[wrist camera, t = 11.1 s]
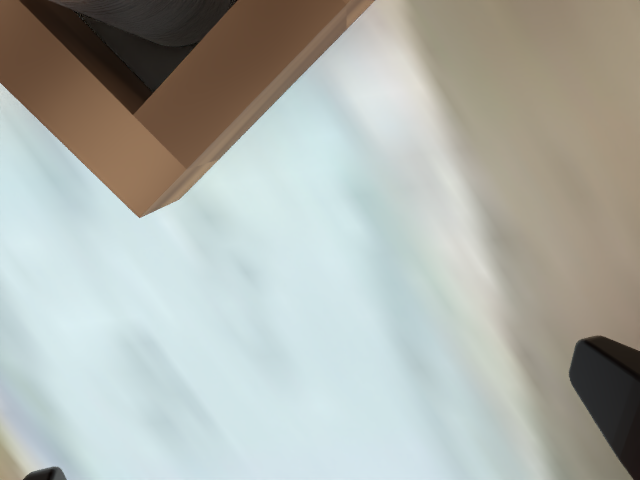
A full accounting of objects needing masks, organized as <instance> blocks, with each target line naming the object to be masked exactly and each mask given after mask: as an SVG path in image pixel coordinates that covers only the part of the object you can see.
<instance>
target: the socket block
mask: <svg viewBox="0 0 640 480" xmlns="http://www.w3.org/2000/svg"><path fill="white" fill-rule="evenodd" d="M374 1H375V0H237V2H236V3H235V4H234V5H233V6H232V7H231V8H230V9H229V10H228V11H227V13H226V14H225V15H224V16H223V17H222V18H221V19H220V20H219V21H218V22H217V23H216V25H215V26H214V27H213V28H212V29H211V30H210V31H209V32H208V33H207V34H206V36H205V37H204V38H203V39H202V40H201V41H200V42H199V43H198V44H197V45H196V47H195V48H194V49H193V50H192V51H191V52H190V53H189V54H188V55H187V56H186V58H185V59H184V60H183V61H182V62H181V63H180V64H179V65H178V66H177V67H176V69H175V70H174V71H173V72H172V73H171V74H170V75H169V76H168V77H167V78H166V79H165V81H164V82H163V83H162V84H161V85H160V86H159V87H158V88H157V89H156V90H155V92H154V93H153V92H152V91H151V90H150V89H149V88H148V87H147V86H146V85H145V84H144V83H143V82H142V81H141V80H140V79H139V78H138V77H137V76H136V75H135V74H134V73H133V72H132V71H131V70H130V69H129V68H128V67H127V66H126V65H125V64H124V62H123V61H122V60H121V59H120V58H119V57H118V56H117V55H116V54H115V53H114V52H113V51H112V50H111V49H110V48H109V47H108V46H107V45H106V44H105V43H104V42H103V41H102V40H101V39H100V38H99V37H98V36H97V35H96V34H95V33H94V32H93V31H92V30H91V29H90V28H89V27H88V26H87V25H86V24H85V23H84V22H83V21H82V19H81V18H80V17H79V16H78V15H77V14H76V13H75V12H74V11H73V10H72V9H69V8H67V7H64V6H62V5H59V4H57V3H54V2H52V1H49V0H0V83H1V84H2V85H3V86H4V87H5V88H6V89H7V90H8V91H9V92H10V93H11V94H12V95H13V96H14V97H15V98H16V99H18V100H19V101H20V102H21V103H22V104H23V105H24V106H25V107H26V108H27V109H28V110H29V111H30V112H31V113H32V114H33V115H34V116H35V117H36V118H37V119H38V120H39V121H40V122H41V123H42V124H43V125H44V126H45V127H46V128H47V129H48V130H49V131H50V132H51V133H52V134H53V135H54V136H55V137H57V138H58V139H59V140H60V141H61V142H62V143H63V144H64V145H65V146H66V147H67V148H68V149H69V150H70V151H71V152H72V153H73V154H74V155H75V156H76V157H77V158H78V159H79V160H80V161H81V162H82V163H83V164H84V165H85V166H86V167H87V168H88V169H89V170H90V171H91V172H92V173H93V174H94V175H96V176H97V177H98V178H99V179H100V180H101V181H102V182H103V183H104V184H105V185H106V186H107V187H108V188H109V189H110V190H111V191H112V192H113V193H114V194H115V195H116V196H117V197H118V198H119V199H120V200H121V201H122V202H123V203H124V204H125V205H126V206H127V207H128V208H129V209H130V210H131V211H132V212H133V213H135V214H136V215H137V216H138V217H139V218H141V217H143V216H145V215H147V214H149V213H151V212H154V211H156V210H158V209H160V208H162V207H164V206H166V205H169V204H171V203H173V202H175V201H177V200H179V199H180V198H181V197H182V196H183V195H184V194H185V193H186V192H187V191H188V190H189V189H190V188H191V187H192V186H193V185H194V184H195V183H196V182H197V181H198V180H199V179H200V178H201V177H202V176H203V175H204V174H205V173H206V172H207V171H208V170H209V169H210V168H211V167H212V166H213V165H214V164H215V163H216V162H217V161H218V160H219V159H220V158H221V157H222V156H223V155H224V154H225V153H226V152H227V151H228V150H229V149H230V147H231V146H232V145H233V144H234V143H235V142H236V141H237V140H238V139H239V138H240V137H241V136H242V135H243V134H244V133H245V132H246V131H247V130H248V129H249V128H250V127H251V126H252V125H253V124H254V123H255V122H256V121H257V120H258V119H259V118H260V117H261V116H262V115H263V114H264V113H265V112H266V111H267V110H268V109H269V108H270V107H271V106H272V105H273V104H274V103H275V102H276V101H277V100H278V99H279V98H280V97H281V96H282V95H283V94H284V93H285V92H286V90H287V89H288V88H289V87H290V86H291V85H292V84H293V83H294V82H295V81H296V80H297V79H298V78H299V77H300V76H301V75H302V74H303V73H304V72H305V71H306V70H307V69H308V68H309V67H310V66H311V65H312V64H313V63H314V62H315V61H316V60H317V59H318V58H319V57H320V56H321V55H322V54H323V53H324V52H325V51H326V50H327V49H328V48H329V47H330V46H331V45H332V44H333V43H334V42H335V41H336V40H337V39H338V38H339V37H340V36H341V35H342V33H343V32H344V31H345V30H346V29H347V28H348V27H349V26H350V25H351V24H352V23H353V22H354V21H355V20H356V19H357V18H358V17H359V16H360V15H361V14H362V13H363V12H364V11H365V10H366V9H367V8H368V7H369V6H370V5H371V4H372V3H373V2H374Z"/></svg>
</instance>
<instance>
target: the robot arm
mask: <svg viewBox="0 0 640 480" xmlns="http://www.w3.org/2000/svg"><path fill="white" fill-rule="evenodd" d="M569 377H570V381H571V384H572V386H573V387H574V389H575V391H576V392H577V394H578V395H579V397H580V399H581V400H582V402H583V403H584V405H585V407H586V408H587V410H588V411H589V413H590V415H591V416H592V418H593V420H594V421H595V423H596V424H597V426H598V428H599V429H600V431H601V432H602V434H603V436H604V437H605V439H606V440H607V442H608V444H609V445H610V447H611V448H612V450H613V451H614V453H615V454H616V456H617V457H618V459H619V460H620V462H621V463H622V464H623V466H624V467H625V469H626V470H627V471H628V473H629V474H630V475H631V477H632V478H633V479H634V480H640V351H637V350H635V349H633V348H630V347H628V346H625V345H623V344H621V343H618V342H616V341H613V340H611V339H608V338H606V337H603V336H593V337H588V338H584V339H581V340H579V341H578V342H577V343H576V346H575V349H574V353H573V357H572V361H571V365H570V369H569ZM23 480H67V479H66V477H65V475H64V473H63V471H62V470H61V469H60V468H59V467H50V468H46V469H41V470H37V471H34V472H31V473H29V474H28V475H27V476H26V477H25V478H24V479H23Z"/></svg>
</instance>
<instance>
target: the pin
mask: <svg viewBox="0 0 640 480" xmlns="http://www.w3.org/2000/svg"><path fill="white" fill-rule="evenodd" d="M49 1H52V2H54V3H57V4H59V5H62V6H64V7H67V8H69V9H72V10H74V11H77V12H79V13H82V14H84V15H87V16H89V17H92V18H94V19H97V20H99V21H101V22H104V23H106V24H109V25H111V26H114V27H116V28H119V29H121V30H124V31H126V32H129V33H131V34H134V35H136V36H139V37H141V38H144V39H146V40H149V41H151V42H154V43H156V44H160V45H164V46H171V47H181V46H186V45H190V44H194V43H196V42H198V41H200V40H202V39H203V38H204V37H205V36H206V34H207V33H208V32H209V31H210V30H211V29H212V28H213V27H214V26H215V25H216V23H217V22H218V21H219V20H220V19H221V18H222V17H223V16H224V15H225V14H226V13H227V11H228V9H229V6H230V3H231V0H49Z"/></svg>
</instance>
